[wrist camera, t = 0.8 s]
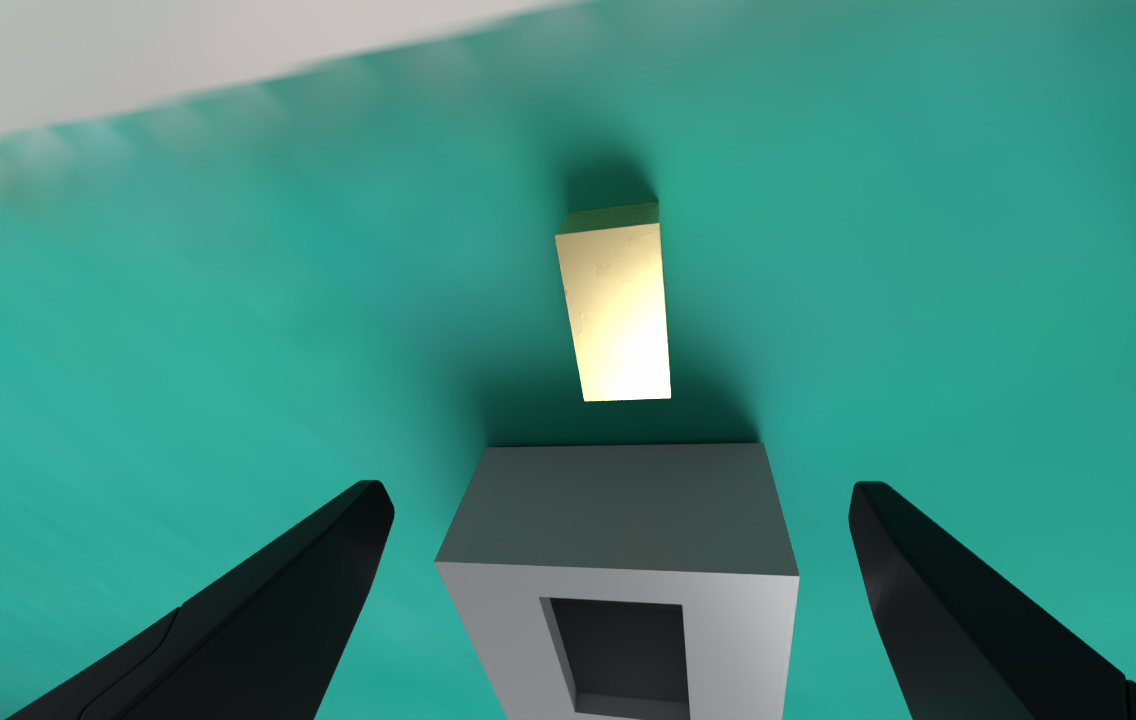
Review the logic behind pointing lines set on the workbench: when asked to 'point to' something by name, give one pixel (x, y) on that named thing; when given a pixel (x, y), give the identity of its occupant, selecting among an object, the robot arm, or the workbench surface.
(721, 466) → the slot box
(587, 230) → the tall cream wooden block
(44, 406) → the workbench surface
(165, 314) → the workbench surface
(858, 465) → the workbench surface
